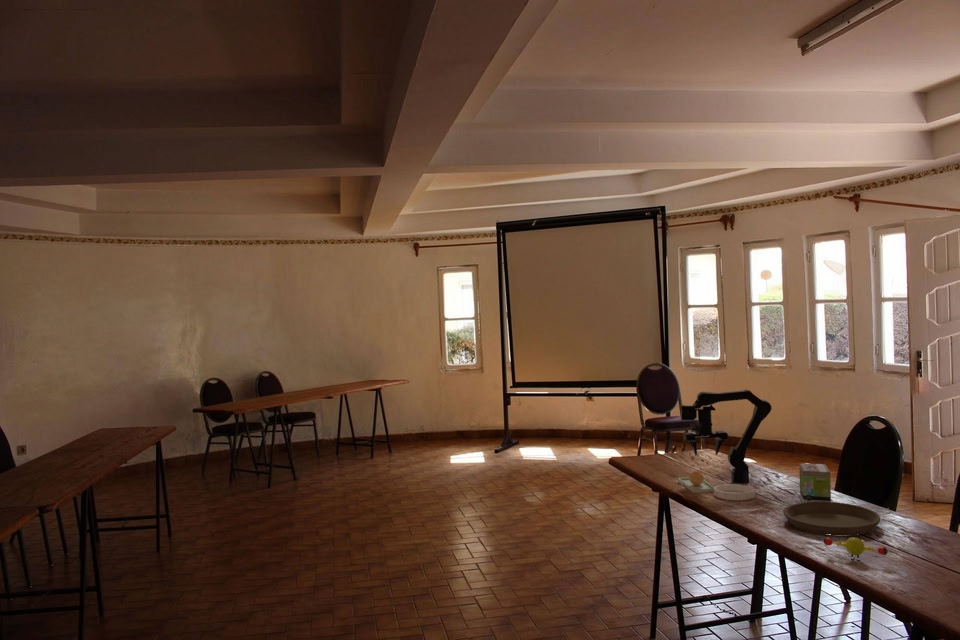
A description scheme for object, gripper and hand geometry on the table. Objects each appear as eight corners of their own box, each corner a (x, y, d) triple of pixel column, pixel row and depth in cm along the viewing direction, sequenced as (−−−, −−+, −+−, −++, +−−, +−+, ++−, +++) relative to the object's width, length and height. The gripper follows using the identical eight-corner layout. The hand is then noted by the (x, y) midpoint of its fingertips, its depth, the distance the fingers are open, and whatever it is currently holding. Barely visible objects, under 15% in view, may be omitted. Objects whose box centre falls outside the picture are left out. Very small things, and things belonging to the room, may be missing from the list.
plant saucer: (826, 544, 238) (825, 530, 238) (765, 519, 268) (764, 506, 268) (902, 532, 246) (901, 519, 246) (835, 509, 276) (834, 497, 276)
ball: (701, 483, 320) (701, 470, 320) (705, 486, 314) (705, 473, 314) (687, 483, 320) (687, 470, 320) (691, 487, 314) (691, 473, 314)
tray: (700, 481, 328) (699, 476, 328) (716, 493, 306) (716, 488, 306) (678, 482, 328) (677, 477, 328) (693, 494, 306) (692, 489, 306)
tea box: (832, 510, 275) (830, 471, 274) (803, 509, 278) (801, 470, 278) (827, 500, 289) (825, 463, 289) (799, 499, 292) (798, 462, 292)
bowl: (746, 491, 307) (745, 483, 307) (760, 501, 291) (760, 492, 291) (709, 493, 307) (709, 484, 307) (722, 502, 291) (721, 494, 291)
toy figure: (890, 562, 218) (889, 540, 218) (886, 568, 214) (885, 545, 214) (827, 551, 230) (826, 530, 230) (821, 556, 226) (820, 534, 226)
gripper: (719, 416, 332) (720, 450, 332) (678, 418, 332) (680, 452, 332) (728, 420, 321) (729, 455, 321) (686, 422, 320) (687, 457, 321)
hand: (706, 455), depth 324 cm, fingers open, 9 cm apart
